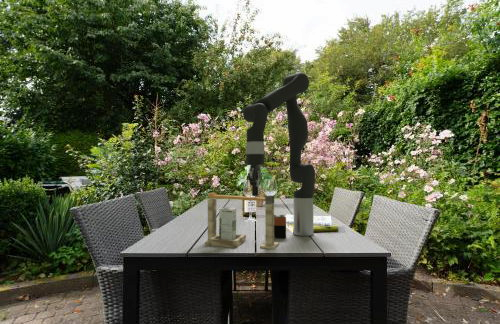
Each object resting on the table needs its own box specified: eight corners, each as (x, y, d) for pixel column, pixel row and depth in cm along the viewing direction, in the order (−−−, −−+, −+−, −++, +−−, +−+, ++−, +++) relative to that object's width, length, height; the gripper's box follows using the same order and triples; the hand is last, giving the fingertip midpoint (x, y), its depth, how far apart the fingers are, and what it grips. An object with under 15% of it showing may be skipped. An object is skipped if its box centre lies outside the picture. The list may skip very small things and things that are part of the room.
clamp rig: (214, 238, 139) (214, 193, 140) (280, 243, 131) (280, 194, 131) (202, 245, 128) (202, 195, 128) (274, 250, 119) (273, 197, 120)
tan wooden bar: (211, 196, 136) (211, 192, 136) (271, 200, 128) (272, 196, 128) (208, 197, 132) (208, 193, 132) (269, 201, 124) (269, 196, 124)
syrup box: (223, 241, 135) (223, 207, 135) (236, 241, 133) (236, 207, 133) (218, 244, 129) (218, 208, 129) (232, 245, 128) (232, 209, 128)
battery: (285, 238, 140) (285, 216, 140) (270, 238, 140) (270, 215, 141) (286, 236, 144) (286, 214, 144) (271, 236, 145) (271, 214, 145)
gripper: (259, 152, 121) (260, 197, 121) (268, 153, 134) (268, 194, 133) (241, 152, 123) (241, 197, 123) (251, 154, 136) (251, 194, 135)
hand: (255, 195), depth 128 cm, fingers closed
